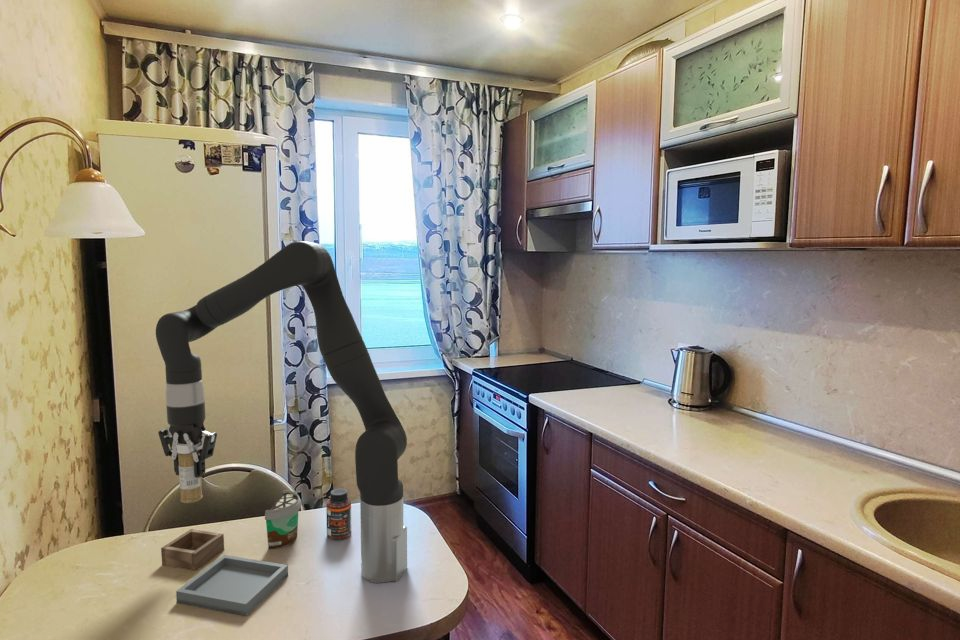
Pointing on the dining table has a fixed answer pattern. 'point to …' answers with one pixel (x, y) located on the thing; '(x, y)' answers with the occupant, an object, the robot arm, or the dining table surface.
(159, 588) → the dining table surface
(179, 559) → the socket
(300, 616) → the dining table surface
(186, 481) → the sprinkles bottle
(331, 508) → the supplement bottle
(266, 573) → the tray
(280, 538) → the food container
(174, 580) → the dining table surface
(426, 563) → the dining table surface
